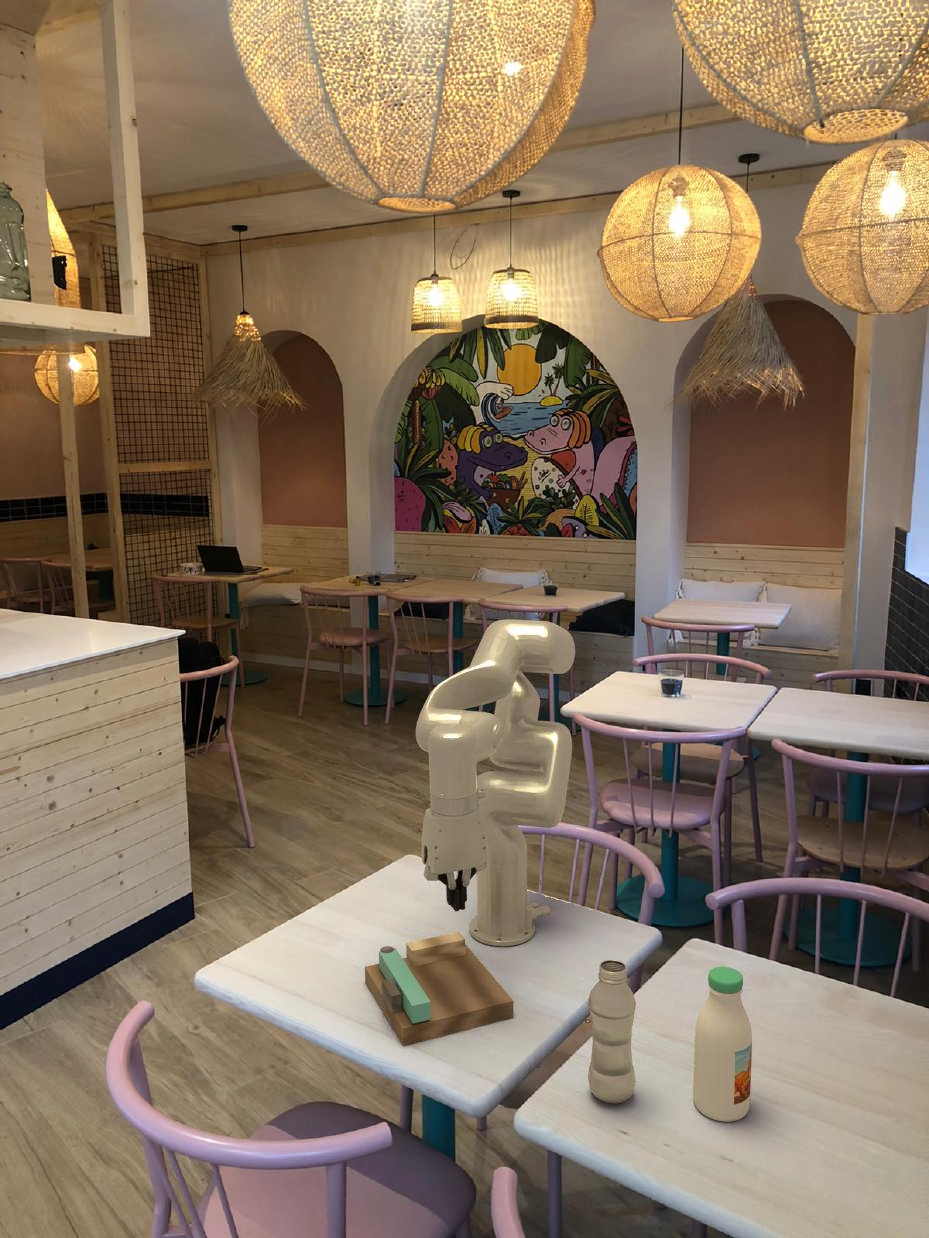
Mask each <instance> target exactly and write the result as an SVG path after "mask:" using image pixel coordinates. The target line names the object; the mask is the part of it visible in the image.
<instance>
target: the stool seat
mask: <svg viewBox="0 0 929 1238" xmlns="http://www.w3.org/2000/svg"><path fill="white" fill-rule="evenodd" d="M405 945H406V957H402V959H403V960H404V962H405V963H406V965H407V967H408V968H409V970H410V971H411V973H412V974H413V976H414V977H415V979H416V980H417V982H418V983H419V985H420V986H421V988H422V989H423V991H424V993H425V994H426V996H427V997H428V999H429V1000H430V1003H431V1019H430V1020H426V1021H421V1022H417V1023H412V1022H411V1020H410V1018H409V1017H408V1015H407V1013H406V1012H405V1010H404V1008H403V1007H402V1005H401V993H400V992H399V990H398V988H397V987H396V985H395V984H394V982H393V981H392V979H388V980H386V978H385V976H384V975H383V973H382V971H381V970H380V968H379V963H375V964H369V965H365V966H364V981H365V985H366V986H367V988H368V989H369V992H370V993H371V994H372V997H373V998H374V1000H375V1002H376V1004H377V1005H378V1006H379V1008H380V1010H381V1012H382V1013H383V1015H384V1016H385V1018H386V1020H387V1022H388V1024H389V1025H390V1027H391V1028H392V1030H393V1032H394V1033H395V1035H396V1037H397V1039H398V1040H399V1042H400V1043H401V1045H402V1047H406V1046H409V1045H412V1044H417V1043H420V1042H425V1041H429V1040H432V1039H435V1038H440V1037H444V1036H448V1035H452V1034H455V1033H459V1032H464V1031H468V1030H470V1029H471V1030H472V1029H474V1028H478V1027H483V1026H486V1025H490V1024H495V1023H498V1022H503V1021H506V1020H510V1019H514V1000H513V998H511V996H510V995H509V994H508V993H507V992H506V990H505V989H504V988H503V987H502V985H501V984H500V983H499V982H498V981H497V979H495V977H494V975H492V974H491V972H490V971H489V970H488V969H487V968H486V967H485V965H484V964H483V963H482V962H481V960H480V959H479V958H478V956H476V955H475V953H474V952H473V951H472V950H471V949H470V947H469V946H468V945H467V943H466V938H465V937H464V936H463V935H462V933H460V931H455V932H451V933H448V934H442V935H437V936H434V937H427V938H423V939H418V940H415V941H410V942H406V943H405Z"/></svg>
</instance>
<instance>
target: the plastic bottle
mask: <svg viewBox="0 0 929 1238" xmlns="http://www.w3.org/2000/svg"><path fill="white" fill-rule="evenodd" d="M597 978H598V979H599V980H598V981H597V983H596V984H595V985H594V986H593V987H592V988H591V990H590V993H589V996H588V1007H589V1009H588V1010H589V1015H590V1021H591V1034H592V1036H591V1037H592V1045H591V1046H592V1048H591V1058H590V1064H589V1068H588V1074H587V1080H588V1085H589V1090H590V1091H591V1093H592V1094H593V1095H594V1097H595V1098H596V1099H598V1100H599V1101H601V1102H604V1103H607V1104H614V1105H616V1104H621V1103H624V1102H627V1100H628V1099H630V1098H631V1097H632V1096H633V1094H634V1091H635V1087H636V1074H635V1068H634V1065H633V1054H632V1037H633V1036H632V1035H633V1025H634V1019H635V1012H636V1005H637V1003H636V1002H637V1001H636V999H635V995H634V993H633V991H632V990H631V988H630V986H629V985H628V984H627V981H628V976H627V965H626V963H624V962H622V961H620V960H617V959H606V960H603V961H601V962H600V964H599V972H598V977H597Z"/></svg>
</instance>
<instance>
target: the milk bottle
mask: <svg viewBox="0 0 929 1238" xmlns="http://www.w3.org/2000/svg"><path fill="white" fill-rule="evenodd" d="M707 979H708V980H707V981H708V984H707V988H708V990H709V993H708V996H707V998H706V1000H705V1002H704V1005H703V1006H702V1008H701V1009H700V1011H699V1014H698V1017H697V1018H696V1019H697V1020H696V1025H695V1037H694V1051H693V1052H694V1056H693V1085H692V1090H693V1091H692V1099H693V1103H694V1105H695V1106H696V1109H697V1110H698V1111H699V1112H700V1113H701V1114H702V1115H704V1116H705V1117H707V1118H709V1119H712V1120H714V1121H717V1122H726V1123H727V1122H728V1123H729V1122H736V1121H739V1120H741V1119H743V1118H744V1117H745V1116H746V1115H747V1114H748V1112H749V1110H750V1105H751V1104H750V1102H751V1086H752V1084H751V1083H752V1080H751V1079H752V1059H753V1058H752V1055H753V1033H752V1026H751V1021H750V1018H749V1017H748V1014H747V1011H746V1010H745V1007H744V1004H743V1001H742V996H741V995H742V993H743V990H744V989H743V988H744V987H743V986H744V978H743V975H742V973H741V972H740V971H738V970H737V969H735V968H732V967H728V966H716V967H713V968H712V969H710V970H709V971H708V977H707Z"/></svg>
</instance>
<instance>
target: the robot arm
mask: <svg viewBox="0 0 929 1238" xmlns="http://www.w3.org/2000/svg"><path fill="white" fill-rule="evenodd" d="M575 657H576V646H575V642H574V638H573V636H572V635H571V633H570V632H569V631H568V630H566V629H565V628H563V627H562V626H560V625H558V624H556V623H553V622H550V621H545V620H530V619H529V620H528V619H527V620H526V619H508V618H507V619H499V620H496V621H494V622H491V623H490V625H488V626H487V628H486V629H485V631H484V633H483V635H482V638H481V640H480V642H479V644H478V647H477V649H476V651H475V653H474V656H473V658H472V660H471V662H470V665H469V666H468V667H466V668H464V669H462V670H459V671H458V672H456V673H455V674H453V675H451V676H450V677H448V678H446V679H445V680H443V681H442V682H440V683H438V684H437V685H436V686H435V687H433V689H432V690H431V692H430V693H429V694H428V697H427V699H426V700H425V702H424V704H423V707H422V709H421V711H420V713H419V716H418V719H417V721H416V725H415V726H416V727H415V739H416V742H417V745H418V746H419V748H420V749H421V750H422V751H424V752H427V753H428V767H429V768H428V771H429V772H428V773H429V774H428V775H429V797H430V799H429V800H430V802H429V803H430V807H428V808H427V809H426V810H425V812H424V818H423V823H422V831H421V853H420V854H421V862H422V863H423V865H425V867H424V872H423V877H424V879H426V880H427V881H431V882H433V881H434V882H437V881H439V882H441V883H442V884H444V885H445V889H446V891H445V892H446V894H445V895H446V904H448V906H450V907H451V908H452V909H453V910H454V912H456V913H457V912H459V911H465V910H466V902H468V887H469V886H470V882H471V880H472V878H473V877H474V876H475V875H476V900H477V904H476V907H477V908H476V909H477V910H476V911H477V913H476V914H477V915H476V916H474V917H473V918H472V919H471V921H470V922H469V924H468V925H469V933H470V935H471V936H472V937H473V939H475V940H476V941H478V942H480V943H482V944H485V945H488V946H489V945H490V946H495V947H496V946H497V947H509V946H510V947H511V946H512V947H513V946H516V945H519V944H523V943H525V942H527V941H529V940H530V939H532V937H534V935H535V933H536V924H535V922H534V921H536V920H537V918H544V917H549V916H550V915H551V909H550V905H542V906H539V903H538V902H532V903H530V904H528V846H527V845H528V844H527V841H526V838H525V836H524V834H523V832H522V830H521V828H520V827H519V826H524V827H533V828H540V829H541V828H543V829H551V828H555V827H556V826H558V825H559V824H560V823H561V821H562V819H563V815H564V812H565V807H566V802H567V801H566V800H567V794H568V785H569V779H570V778H569V777H570V770H571V763H572V756H573V754H572V753H573V739H572V735H571V731H570V729H569V728H568V727H567V726H566V725H565V724H563V723H560V722H557V721H549V720H548V721H547V720H546V721H545V720H538V719H539V711H540V706H541V699H540V696H539V693H538V692H537V690H536V688H535V686H534V685H533V684H532V683H531V682H530V681H529V679H528V678H527V676H525V674H524V673H539V674H553V675H554V674H557V675H561V674H566V673H568V672H569V671H570V670H571V668H572V666H573V664H574V662H575ZM494 702H495V709H494V714H492V713H490V712H486V711H477V710H474V711H473V710H466V709H470V708H474V707H475V708H476V707H480V706H483V705H486V704H487V705H488V704H490V703H494ZM486 759H490V761H491V762H492V763H493V764H494V765H496V766H498V767H502V768H507V769H512V770H513V769H515V770H523V771H524V770H525V771H534V772H541V773H543V774H542V775H541V774H532V773H531V774H530V773H522V772H513V771H504V770H503V771H502V770H494V771H493V770H492V771H486V772H485V771H484V772H483V773H481V774H479V775H478V774H477V773H478V771H477V767H478V765H477V763H479V762H481V761H484V760H486ZM454 872H456V875H455V873H454ZM455 876H456V877H455Z"/></svg>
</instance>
